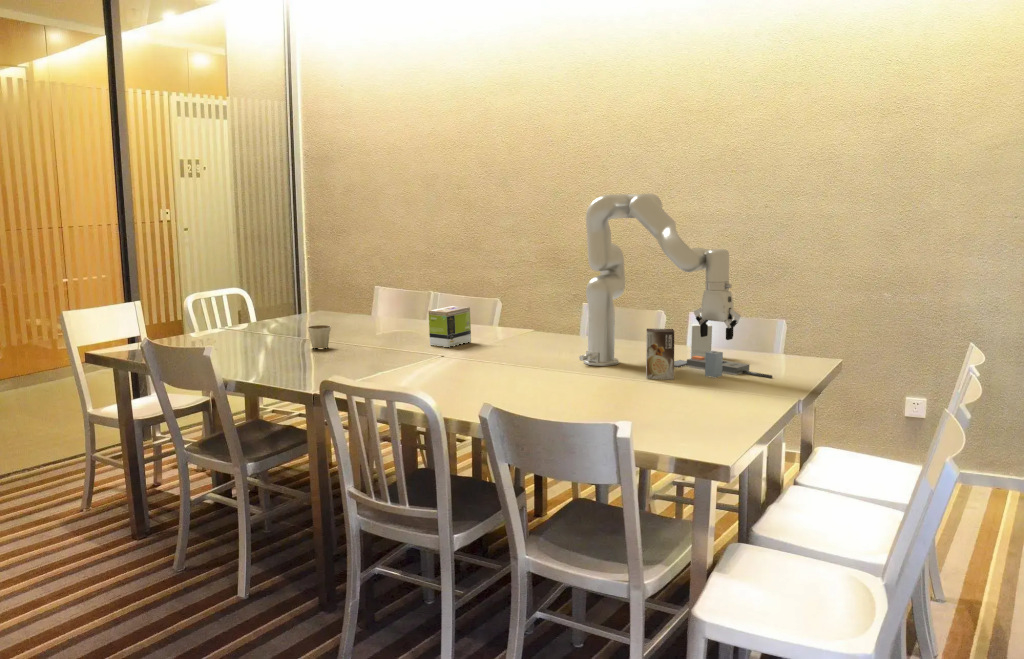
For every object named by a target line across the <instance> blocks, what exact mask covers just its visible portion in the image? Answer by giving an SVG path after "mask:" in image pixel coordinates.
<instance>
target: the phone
mask: <svg viewBox="0 0 1024 659" xmlns="http://www.w3.org/2000/svg"><path fill="white" fill-rule="evenodd" d="M685 365H686V366H687V360H684V359H677V360H674V368H677V367H678V368H681V366H682V367H685Z"/></svg>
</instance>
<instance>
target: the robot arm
mask: <svg viewBox="0 0 1024 659" xmlns="http://www.w3.org/2000/svg"><path fill="white" fill-rule="evenodd" d="M615 219H616V220H618V219H636V220H637V221H638V222H639V224H640V225H642V227H644V228H645V229H646V230H647V231H648V232H649V233H650V234H651V235H652V236H653V238H655V240H656V241H657V243H658V245H659V247H660V249H661V250H662V252H663V253H664V255H666V257H667V258H668V259H669V260H670V261H671V262H672V263H673V264H674V265H675V266H676V267H677V268H678V269H679V270H681V271H683V272H685V273H692V272H697V271H703V270H705V280H704V281H705V290H703V293H702V297H701V307H700V308H698V309H696V310H693V314H694V316H695V320H696V321H697V323H699V325H700V333H701V337H705V336H707V335H708V325H707V324H706V323H709V322H708V321H711V322H720V323H723V322H724V324H725V326H726V328H725V340H726V341H730V340H733V338H734V328H735V327H736V326H737V324H738V323H739V321H740V319H741V317H742V316H741V314H740V313H738V312H737V311H735V309H734V308H735V307H734V299H733V298H734V297H733V294H732V291H731V290H730V289H732V288H733V284H731V283H730V252H729V250H728V249H727V248H726V249H724V248H711V249H710V248H703V247H693V248H691V247H690V246H689V245H688V244H686V242H685V241H684V240H683V239H682V238H681V236H680V235H679V234H678V231H677V223H676V220H674V219H673V217H671V216H670V215H669V214H668V213H667V212H666V211H665V210H664V209H663V203H662V200H661V198H660V197H659V196H657V195H656V194H654V193H637V194H636V193H633V194H631V193H630V194H629V193H628V194H626V193H625V194H623V193H622V194H621V193H619V194H618V193H616V194H614V193H612V194H611V193H610V194H603V195H601V196H598V197H596V198H595V199H594V200H593V201H592V202H590V203H589V205H588V207H587V209H586V212H585V226H586V228H585V229H586V242H587V243H586V245H587V246H586V247H587V262H588V266H589V267H590V269H592V270H593V271H596V272H599V273H600V275H596V276H594V277H592V278H590V280H589V281H588V282H587V284H586V289H585V293H586V294H585V295H586V296H585V297H586V302H587V350H586V352H585V354H581V355H579V356H578V358H579V361H582V362H583V363H584V364H585V365H588V366H595V367H596V366H597V367H606V366H607V367H608V366H609V367H610V366H616V365H618V364H619V361H620V360H619V359H618V358H616V357H615V345H616V344H615V340H616V339H615V338H616V337H615V336H616V335H615V331H616V330H615V328H616V323H615V322H616V314H615V313H616V312H615V306H614V300H616V299H618V298H620V297H621V296H622V295H623V294H624V292H625V289H626V275H625V274H626V272H625V257H624V252H623V251H622V249H621V247H620V246H618V245H617V244H615V243H612V232H611V227H610V224H609V221H610V220H615Z"/></svg>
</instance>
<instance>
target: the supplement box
mask: <svg viewBox="0 0 1024 659" xmlns="http://www.w3.org/2000/svg"><path fill="white" fill-rule="evenodd" d="M706 324H707V325H708V335H707V336H705V337H701V333H700V325H699V322H692V323H691V330H690V331H691V332H690V333H691V334H690V359H691V358H692V356H701V357H706V352H709V351H712V342H713V341H712V338H713V337H712V336H713V324H712V323H711V322H707V323H706Z"/></svg>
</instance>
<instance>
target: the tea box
mask: <svg viewBox="0 0 1024 659" xmlns="http://www.w3.org/2000/svg"><path fill="white" fill-rule="evenodd" d="M471 327H472V326H471V308H470V307H469V306H468V307H467V306H457V305H450V306H445V307H439V308H435V309H430V310H428V330H429V331H428V332H429V333H428V334H429V345H430V346H431V345H437V346H445V347H449V348H451V347H450V346H453V347H455V346H454V345H457V346H460V345H459V344H461V345H463V343H465V344H468V342H469V343H472V330H471V329H472V328H471Z"/></svg>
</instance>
